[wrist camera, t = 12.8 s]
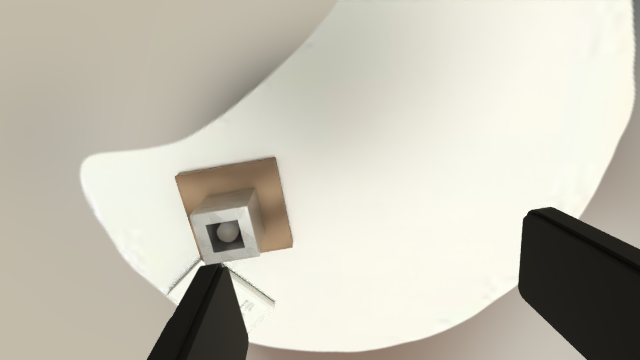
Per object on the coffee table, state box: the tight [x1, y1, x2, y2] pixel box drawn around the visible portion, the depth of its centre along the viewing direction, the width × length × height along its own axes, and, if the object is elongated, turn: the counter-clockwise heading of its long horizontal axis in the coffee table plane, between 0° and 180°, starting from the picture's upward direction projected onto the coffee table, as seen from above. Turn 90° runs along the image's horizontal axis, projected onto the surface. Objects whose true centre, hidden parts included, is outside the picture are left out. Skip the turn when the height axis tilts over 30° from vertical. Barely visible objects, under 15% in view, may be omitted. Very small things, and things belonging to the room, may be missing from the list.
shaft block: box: [175, 158, 293, 262], centre depth 35 cm, size 12×12×6 cm
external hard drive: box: [166, 259, 275, 333], centre depth 42 cm, size 2×8×12 cm
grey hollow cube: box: [190, 187, 266, 265], centre depth 34 cm, size 6×6×6 cm
